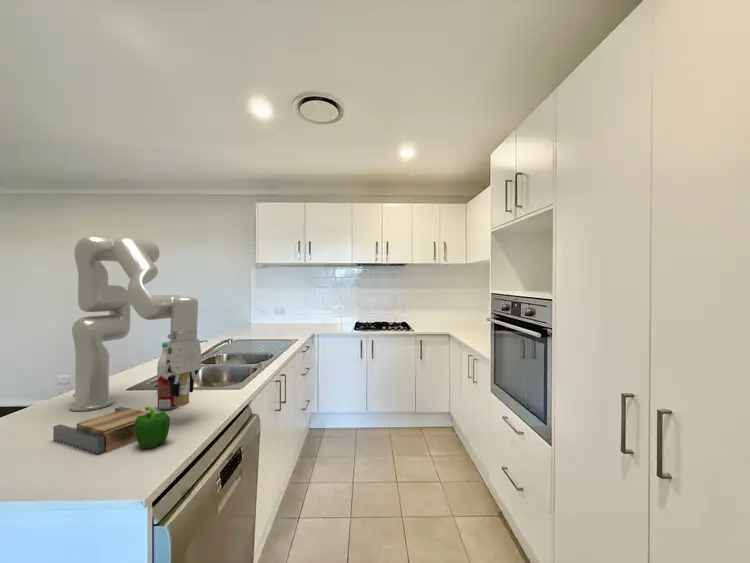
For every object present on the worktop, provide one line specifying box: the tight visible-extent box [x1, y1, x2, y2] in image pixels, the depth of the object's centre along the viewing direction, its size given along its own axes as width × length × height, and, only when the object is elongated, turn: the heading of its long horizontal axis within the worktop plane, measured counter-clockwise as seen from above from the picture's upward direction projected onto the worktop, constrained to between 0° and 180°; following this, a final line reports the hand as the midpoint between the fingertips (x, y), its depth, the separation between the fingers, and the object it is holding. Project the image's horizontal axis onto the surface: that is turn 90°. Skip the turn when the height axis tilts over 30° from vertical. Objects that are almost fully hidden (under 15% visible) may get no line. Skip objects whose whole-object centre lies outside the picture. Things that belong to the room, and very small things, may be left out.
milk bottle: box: [156, 341, 169, 394], centre depth 148 cm, size 8×8×20 cm
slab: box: [76, 407, 148, 437], centre depth 106 cm, size 12×14×2 cm
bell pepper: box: [134, 405, 171, 449], centre depth 102 cm, size 8×8×10 cm
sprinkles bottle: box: [173, 372, 190, 407], centre depth 118 cm, size 5×5×14 cm
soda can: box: [157, 373, 178, 411], centre depth 131 cm, size 7×7×12 cm
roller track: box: [52, 406, 137, 456], centre depth 107 cm, size 20×18×5 cm
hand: (181, 393), depth 118 cm, fingers closed on sprinkles bottle, 4 cm apart
